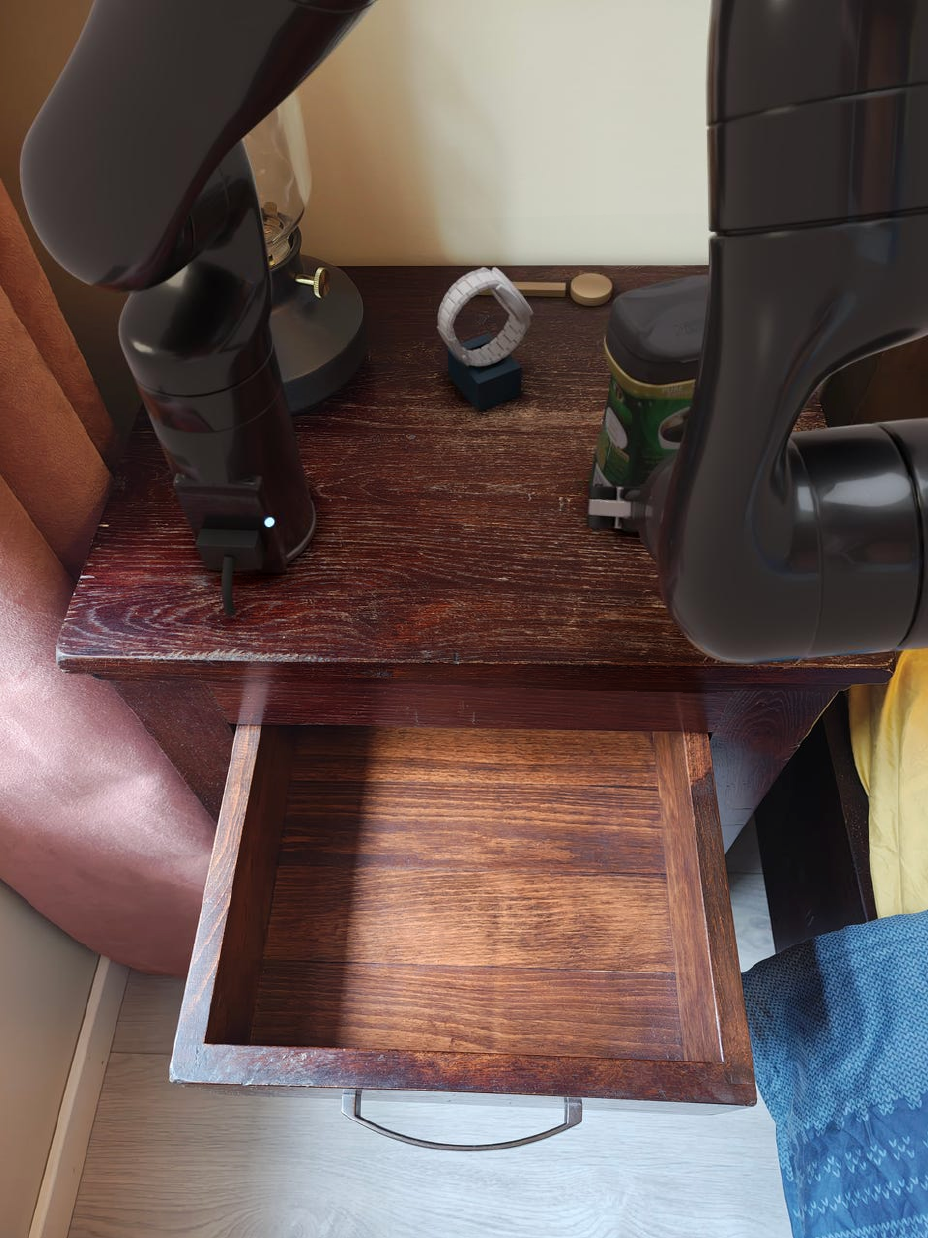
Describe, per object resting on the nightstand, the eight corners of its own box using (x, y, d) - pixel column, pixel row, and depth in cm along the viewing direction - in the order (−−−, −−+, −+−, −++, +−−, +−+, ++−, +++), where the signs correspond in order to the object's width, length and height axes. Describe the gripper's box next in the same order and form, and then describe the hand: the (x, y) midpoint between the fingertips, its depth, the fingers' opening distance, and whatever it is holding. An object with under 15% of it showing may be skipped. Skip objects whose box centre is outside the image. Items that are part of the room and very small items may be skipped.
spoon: (611, 306, 88) (612, 297, 87) (472, 303, 89) (472, 294, 88) (610, 282, 90) (611, 273, 90) (475, 279, 91) (475, 270, 91)
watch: (539, 387, 82) (545, 278, 73) (461, 419, 79) (456, 310, 71) (507, 353, 84) (509, 244, 76) (431, 382, 82) (423, 274, 73)
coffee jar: (681, 449, 76) (726, 247, 61) (725, 516, 72) (786, 315, 57) (574, 477, 75) (593, 276, 60) (612, 547, 70) (643, 349, 55)
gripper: (872, 443, 43) (776, 451, 60) (591, 434, 44) (576, 445, 61) (856, 599, 44) (767, 564, 62) (583, 588, 45) (570, 556, 62)
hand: (671, 505), depth 61 cm, fingers closed
